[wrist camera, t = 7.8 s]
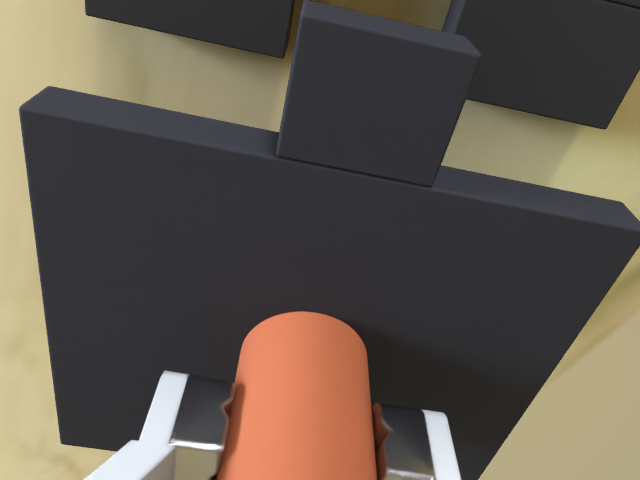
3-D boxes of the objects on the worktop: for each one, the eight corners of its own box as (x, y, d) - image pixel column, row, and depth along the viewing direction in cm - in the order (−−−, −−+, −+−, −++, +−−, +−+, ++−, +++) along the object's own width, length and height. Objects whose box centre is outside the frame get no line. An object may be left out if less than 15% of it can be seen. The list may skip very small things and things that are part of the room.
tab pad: (694, 88, 10) (981, 249, 5) (457, 462, 17) (502, 661, 12) (35, -64, 8) (-268, -13, 4) (77, 409, 15) (-20, 610, 11)
